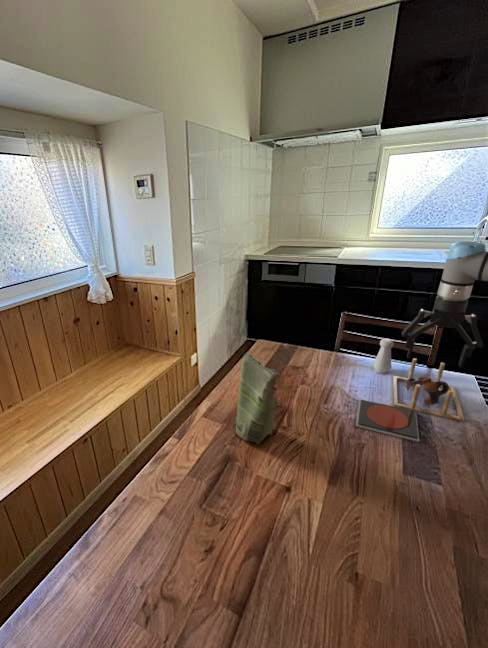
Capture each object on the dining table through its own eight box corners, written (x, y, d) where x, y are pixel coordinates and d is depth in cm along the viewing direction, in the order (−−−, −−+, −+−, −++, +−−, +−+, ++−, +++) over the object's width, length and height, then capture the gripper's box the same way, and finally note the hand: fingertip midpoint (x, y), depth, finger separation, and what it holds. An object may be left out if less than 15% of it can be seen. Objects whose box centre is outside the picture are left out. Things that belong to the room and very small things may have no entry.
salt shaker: (393, 371, 126) (400, 340, 121) (383, 376, 124) (390, 345, 119) (378, 365, 131) (384, 335, 126) (369, 370, 129) (375, 339, 123)
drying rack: (453, 388, 115) (461, 365, 111) (463, 421, 100) (472, 396, 96) (393, 377, 123) (398, 355, 119) (393, 406, 108) (399, 382, 104)
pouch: (239, 418, 107) (239, 348, 97) (277, 424, 103) (282, 352, 93) (231, 441, 98) (231, 367, 87) (273, 449, 94) (278, 372, 83)
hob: (416, 413, 104) (417, 410, 103) (419, 442, 93) (420, 438, 92) (358, 401, 111) (359, 397, 111) (355, 426, 100) (356, 423, 100)
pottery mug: (416, 408, 107) (409, 383, 108) (404, 403, 116) (398, 380, 117) (458, 400, 104) (450, 375, 105) (443, 396, 114) (436, 372, 114)
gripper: (402, 296, 100) (388, 358, 109) (512, 306, 88) (486, 375, 97) (402, 289, 106) (388, 349, 115) (505, 297, 94) (481, 363, 103)
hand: (433, 361), depth 106 cm, fingers open, 13 cm apart
